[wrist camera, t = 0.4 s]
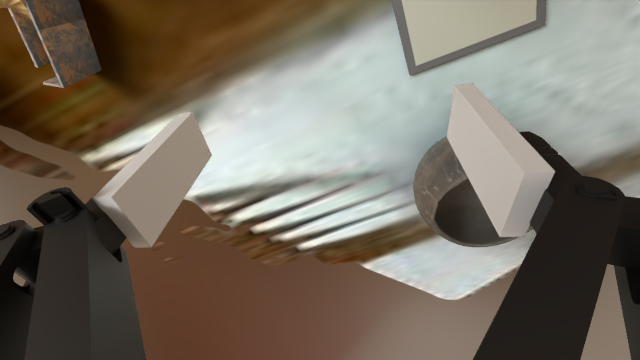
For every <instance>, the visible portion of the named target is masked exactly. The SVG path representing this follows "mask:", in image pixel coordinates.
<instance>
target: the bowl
mask: <svg viewBox="0 0 640 360" xmlns="http://www.w3.org/2000/svg"><path fill="white" fill-rule="evenodd" d="M413 189H414V197H415V202H416V206H417V208H418V211H419V212H420V214H421V216H422V218H423V219H424V220H425V222H426V223H427V224H428V225H429V226H430V227H431V228H432V229H433V230H434V231H435V232H436V233H438V234H439V235H440V236H442V237H443V238H445V239H447V240H449V241H451V242H453V243H456V244H459V245H462V246H468V247H488V246H494V245H499V244H503V243H506V242H509V241H511V240H514V239H516V238H518V237H499V235H498V233H497V231H496V229H495V227H494V225H493V224H492V222H491V220H490V218H489V216H488V214H487V212H486V210H485V208H484V207H483V205H482V203H481V201H480V199H479V197H478V195H477V193H476V192H475V190H474V188H473V186H472V184H471V182H470V180H469V178H468V176H467V175H466V173H465V171H464V169H463V167H462V165H461V163H460V161H459V160H458V158H457V156H456V154H455V152H454V150H453V148H452V146H451V144H450V143H449V141H448V139H447V136H446V137H445V138H443V139H441V140H440V141H438V142H437V143H436V144H435V145H433V146H432V147H431V148H430V149H429V150H428V152H427V153H426V154H425V155H424V156H423V158H422V159H421V161H420V163H419V165H418V168H417V170H416V173H415V179H414V184H413ZM532 229H533V227H532V226H531V224H530V226H529V228H528V230H527V232H529V231H530V230H532ZM527 232H526V233H527Z"/></svg>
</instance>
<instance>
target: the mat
mask: <svg viewBox="0 0 640 360" xmlns="http://www.w3.org/2000/svg"><path fill="white" fill-rule="evenodd" d="M392 3H393V8H394V12H395V16H396V20H397V24H398V29H399V33H400V37H401V41H402V45H403V50H404V54H405V58H406V62H407V66H408V71H409V74H410V75H413V74H416V73H418V72H421V71H424V70H426V69H429V68H432V67H434V66H437V65H440V64H442V63H445V62H448V61H450V60H453V59H456V58H458V57H461V56H464V55H466V54H469V53H472V52H475V51H477V50H480V49H483V48H485V47H488V46H491V45H493V44H496V43H499V42H501V41H504V40H507V39H509V38H512V37H515V36H517V35H520V34H523V33H525V32H528V31H531V30H533V29H536V28H539V27H541V26H544V25H545V16H546V0H392Z"/></svg>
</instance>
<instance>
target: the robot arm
mask: <svg viewBox="0 0 640 360" xmlns="http://www.w3.org/2000/svg"><path fill="white" fill-rule="evenodd" d="M447 139H448V141H449V143H450V144H451V146H452V148H453V150H454V152H455V154H456V156H457V158H458V160H459V161H460V163H461V165H462V167H463V169H464V171H465V173H466V175H467V176H468V178H469V180H470V182H471V184H472V186H473V188H474V190H475V192H476V193H477V195H478V197H479V199H480V201H481V203H482V205H483V207H484V208H485V210H486V212H487V214H488V216H489V218H490V220H491V222H492V224H493V225H494V227H495V229H496V231H497V233H498V235H499V237H524V236H525V234H526V232H527V230H528V228H529V226H530V224H531V226H532V227H533V229H534V230H535V232H536V233H537V235H536V237H535V239H534V241H533V242H532V244H531V246H530V248H529V250H528V252H527V254H526V256H525V258H524V260H523V262H522V264H521V266H520V268H519V270H518V272H517V274H516V276H515V278H514V280H513V282H512V284H511V286H510V288H509V290H508V292H507V294H506V295H505V297H504V299H503V301H502V304H501V305H500V307H499V310H498V311H497V314H496V315H495V317H494V319H493V321H492V323H491V325H490V327H489V329H488V331H487V333H486V335H485V337H484V338H483V340H482V342H481V345H480V346H479V349H478V350H477V352H476V354H475V356H474V358H473V360H580V359H581V355H582V351H583V348H584V344H585V341H586V337H587V333H588V330H589V327H590V323H591V320H592V316H593V313H594V309H595V306H596V302H597V299H598V295H599V292H600V288H601V285H602V281H603V278H604V274H605V270H606V266H607V264H611V265H614V268H615V274H616V279H617V285H618V290H619V295H620V301H621V306H622V311H623V317H624V322H625V327H626V333H627V338H628V343H629V348H630V354H631V359H632V360H640V198H634V197H627V196H625V195H624V194H623V192H622V191H621V190H620V189H619V188H617V187H616V186H614V185H612V184H611V183H609V182H606V181H603V180H601V179H598V178H593V177H587V176H581V175H580V174H579V173H578V172H577V171H576V170H575V169H574V168H573V167H572V166H571V165H570V164H569V163H568V162H567V161H566V160H565V159H564V158H563V157H562V156H560V155H558V153H557V152H556V151H555V150H554V149H553V148H551V146H550V145H549V144H548V143H547V142H546V141H545V140H544V139H543V138H541V137H539V136H537V135H535V134H533V133H531V132H529V131H528V132H518V131H517V130H516V129H515V128H514V127H513V126H512V125H511V124H510V123H509V122H508V121H507V119H506V118H505V117H504V116H503V115H502V114H501V113H500V112H499V111H498V110H497V109H496V108H495V107H494V106H493V105H492V103H491V102H490V101H489V100H488V99H487V98H486V97H485V96H484V95H483V94H482V93H481V92H480V91H479V90H478V89H477V88H476V86H475V85H474V84H473V83H472V84H462V85H455V88H454V94H453V101H452V107H451V113H450V119H449V125H448V131H447ZM211 156H212V154H211V152H210V150H209V148H208V146H207V143H206V141H205V139H204V137H203V134H202V132H201V130H200V128H199V126H198V123H197V121H196V119H195V117H194V114H193V112H188V113H179V114H178V115H177V116H176V117H175V118H174V119H173V120H172V121H171V122H170V123H169V124H168V125H167V126H166V127H165V128H164V129H163V130H162V131H161V132H160V133H159V134H158V135H156V136H155V137H154V138H153V139H152V140H151V141H150V142H149V143H148V144H147V145H146V146H145V147H144V148H143V149H142V150H141V151H140V152H139V153H138V154H137V155H136V156H135V157H134V158H133V159H132V160H131V161H130V162H129V163H128V164H127V165H126V166H125V167H124V168H123V169H121V170H120V171H119V172H118V173H117V174H116V175H115V176H114V177H113V178H112V179H111V180H110V181H109V182H108V183H107V184H106V185H105V186H104V187H103V188H102V189H101V190H100V191H99V192H97V194H95V195H94V196H93V197H92V198H91V199H90V200H89V201H88V202H87V203H86V204H84V203H83V202H82V201H81V200H80V199H79V198H78V197H77V196H76V194H75V193H74V192H73V191H72V190H71V189H70V188H66V187H65V188H58V189H55V190H52V191H50V192H47V193H45V194H43V195H41V196H40V197H38V198H37V199H35V200H34V201H33V202H32V203H31V204H30V205H29V206H28V208H27V210H28V211H29V212H30V213H31V214H32V215H33V216H35V217H36V218H37V219H38V220H39V221H40V222H41V223H42V224H43V225H44V226H41V227H38V228H34V229H33V228H32V227H31V226H30V225H28V224H27V223H26V222H25V221H23V220H17V221H12V222H9V223H7V224H3V225H1V226H0V360H146V357H145V351H144V346H143V340H142V335H141V329H140V324H139V319H138V313H137V308H136V303H135V297H134V292H133V286H132V281H131V275H130V270H129V264H128V259H127V253H126V250H125V249H124V248H123V246H122V245H121V244H122V243H123V242H124V240H125V239H126V238H127V239H128V240H129V242H130V243H131V244H132V245H133V246H134V247H135V248H136V247H152V245H153V244H154V242H155V241H156V239H157V238H158V236H159V235H160V233H161V232H162V230H163V229H164V227H165V226H166V224H167V223H168V221H169V219H170V218H171V217H172V215H173V213H174V212H175V211H176V209H177V208H178V206H179V205H180V203H181V201H182V200H183V198H184V197H185V195H186V194H187V192H188V191H189V189H190V188H191V186H192V185H193V183H194V182H195V180H196V179H197V177H198V176H199V174H200V173H201V171H202V170H203V168H204V167H205V165H206V164H207V162H208V160H209V159H210V157H211ZM14 272H15V273H16V274H18V275H19V276H21V277H22V278H23V279H25V280H26V282H25V284H24V286H23V287H22V286H19V285H18V284H16V283H15V282H14V280H13V275H14Z"/></svg>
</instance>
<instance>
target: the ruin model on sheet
mask: <svg viewBox="0 0 640 360" xmlns="http://www.w3.org/2000/svg"><path fill="white" fill-rule="evenodd" d="M0 8H8V10H9V12H10V14H11V16H12V18H13V20H14V22H15V24H16V26H17V28H18V31H19V33H20V35H21V37H22V39H23V41H24V43H25V45H26V47H27V49H28V51H29V54H30V56H31V58H32V60H33V62H34V65H35V67H41V66H44V65H46V64H49V63H51V65H52V67H53V69H54V71H55V74H56V77H54V78H52V79H49V80H47V81H44V82H43V84H44V85H50V86H56V87H62V88H65V87H67V86H69V85H71V84H73V83H75V82H78V81H80V80H82V79H84V78H86V77H88V76H91V75H93V74H95V73H97V72H99V71H101V70H102V69H101V66H100V63H99V60H98V57H97V54H96V51H95V48H94V45H93V42H92V39H91V36H90V33H89V30H88V27H87V24H86V21H85V18H84V15H83V12H82V9H81V6H80V3H79V0H0Z"/></svg>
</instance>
